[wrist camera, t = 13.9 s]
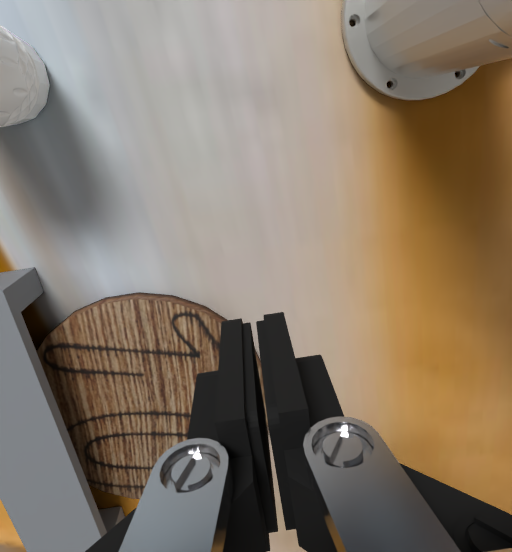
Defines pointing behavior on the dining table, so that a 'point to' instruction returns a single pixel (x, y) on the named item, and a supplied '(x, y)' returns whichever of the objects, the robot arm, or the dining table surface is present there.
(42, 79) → the white cup
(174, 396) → the trivet
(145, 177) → the dining table surface
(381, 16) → the robot arm
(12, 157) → the dining table surface
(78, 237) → the dining table surface
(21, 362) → the bridge
